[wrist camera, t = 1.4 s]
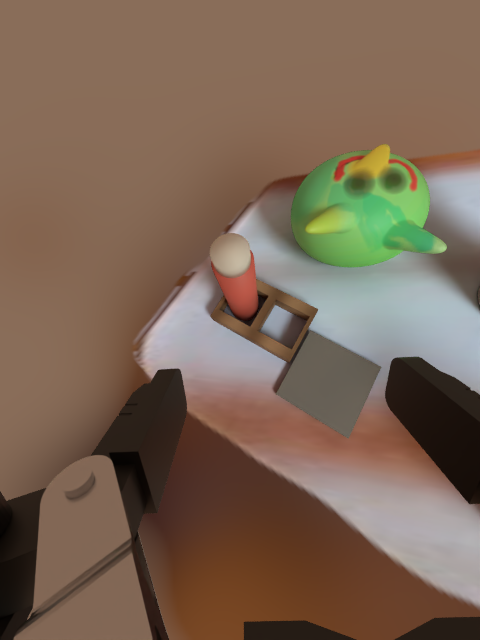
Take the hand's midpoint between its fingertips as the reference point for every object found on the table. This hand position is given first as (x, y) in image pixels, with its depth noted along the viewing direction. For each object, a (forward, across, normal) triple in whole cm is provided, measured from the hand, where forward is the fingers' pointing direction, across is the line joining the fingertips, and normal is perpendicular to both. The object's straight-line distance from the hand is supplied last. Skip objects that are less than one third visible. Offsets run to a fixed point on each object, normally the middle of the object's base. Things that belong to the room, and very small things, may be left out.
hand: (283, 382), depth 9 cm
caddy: (+28, -2, +8) cm, 29 cm away
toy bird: (+35, -16, -2) cm, 39 cm away
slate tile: (+21, -10, +16) cm, 28 cm away
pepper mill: (+30, +1, +6) cm, 30 cm away
